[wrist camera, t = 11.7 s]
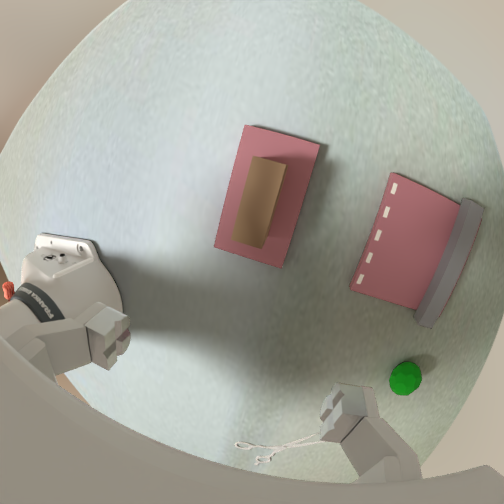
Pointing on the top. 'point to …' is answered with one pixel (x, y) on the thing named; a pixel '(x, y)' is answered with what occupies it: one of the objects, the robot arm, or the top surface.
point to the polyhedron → (405, 378)
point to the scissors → (276, 447)
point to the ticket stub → (265, 195)
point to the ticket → (417, 248)
